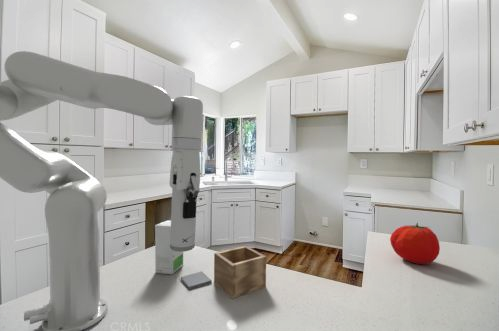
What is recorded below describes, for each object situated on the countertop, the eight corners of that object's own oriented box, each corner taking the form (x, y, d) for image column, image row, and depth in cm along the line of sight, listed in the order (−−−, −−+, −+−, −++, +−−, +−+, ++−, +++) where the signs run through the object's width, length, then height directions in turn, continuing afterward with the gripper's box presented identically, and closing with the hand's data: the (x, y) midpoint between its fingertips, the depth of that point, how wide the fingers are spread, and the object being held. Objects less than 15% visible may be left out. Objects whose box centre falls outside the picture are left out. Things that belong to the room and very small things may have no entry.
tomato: (434, 259, 97) (436, 223, 96) (443, 273, 84) (445, 233, 84) (388, 251, 104) (389, 218, 103) (390, 264, 91) (391, 226, 91)
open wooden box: (232, 298, 68) (232, 265, 67) (214, 282, 76) (214, 253, 76) (265, 286, 74) (266, 256, 74) (245, 272, 83) (246, 245, 83)
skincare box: (172, 275, 81) (172, 226, 80) (153, 273, 82) (153, 225, 81) (184, 264, 89) (184, 220, 88) (166, 262, 90) (167, 219, 90)
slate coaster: (189, 289, 72) (189, 286, 72) (180, 279, 78) (180, 277, 78) (211, 282, 76) (211, 280, 76) (201, 273, 82) (201, 271, 82)
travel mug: (190, 253, 63) (193, 172, 62) (165, 250, 64) (168, 171, 63) (199, 244, 69) (202, 171, 68) (176, 242, 70) (179, 169, 69)
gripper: (162, 145, 71) (160, 209, 71) (184, 144, 56) (181, 224, 57) (188, 147, 75) (185, 207, 75) (215, 146, 61) (212, 221, 61)
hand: (184, 214), depth 66 cm, fingers closed on travel mug, 6 cm apart
